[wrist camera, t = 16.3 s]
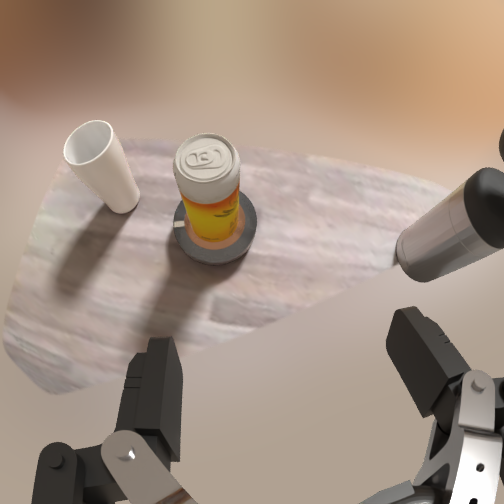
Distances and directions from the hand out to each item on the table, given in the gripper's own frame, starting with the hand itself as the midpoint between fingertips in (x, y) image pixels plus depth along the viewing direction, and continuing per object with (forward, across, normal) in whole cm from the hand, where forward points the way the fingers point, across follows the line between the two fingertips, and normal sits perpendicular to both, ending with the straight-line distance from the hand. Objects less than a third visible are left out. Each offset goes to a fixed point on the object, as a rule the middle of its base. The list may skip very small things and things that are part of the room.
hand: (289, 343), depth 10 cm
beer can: (+30, +3, +8) cm, 31 cm away
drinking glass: (+37, +17, +5) cm, 41 cm away
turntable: (+32, +3, +10) cm, 34 cm away
